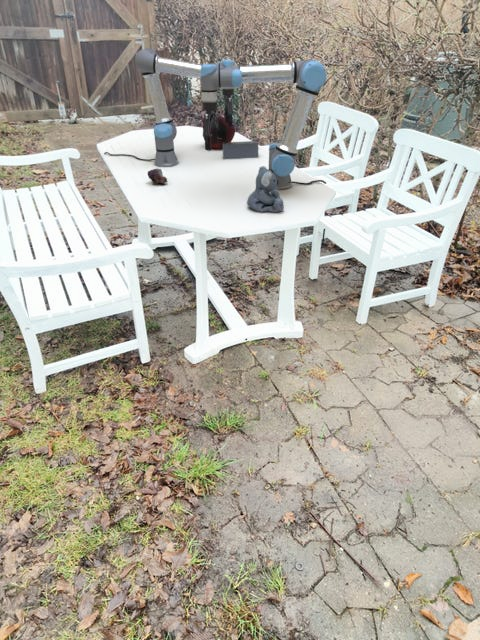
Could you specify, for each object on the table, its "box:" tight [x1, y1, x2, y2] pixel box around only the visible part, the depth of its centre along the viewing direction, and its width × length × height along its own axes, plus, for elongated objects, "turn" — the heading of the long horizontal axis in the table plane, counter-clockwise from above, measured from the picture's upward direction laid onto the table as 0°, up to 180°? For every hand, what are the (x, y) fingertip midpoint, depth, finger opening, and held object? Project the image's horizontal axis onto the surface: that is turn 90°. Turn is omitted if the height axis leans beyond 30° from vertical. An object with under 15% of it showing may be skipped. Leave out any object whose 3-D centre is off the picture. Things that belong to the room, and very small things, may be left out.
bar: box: [222, 140, 259, 160], centre depth 304 cm, size 24×5×10 cm, turn 100°
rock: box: [147, 168, 168, 185], centre depth 259 cm, size 12×9×10 cm
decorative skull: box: [200, 116, 236, 152], centre depth 325 cm, size 21×24×25 cm
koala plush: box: [246, 165, 285, 213], centre depth 222 cm, size 17×18×20 cm
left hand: (228, 124), depth 293 cm, fingers open, 13 cm apart
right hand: (211, 146), depth 230 cm, fingers open, 13 cm apart
